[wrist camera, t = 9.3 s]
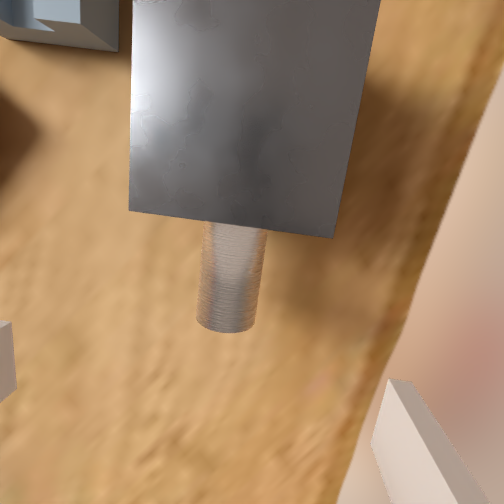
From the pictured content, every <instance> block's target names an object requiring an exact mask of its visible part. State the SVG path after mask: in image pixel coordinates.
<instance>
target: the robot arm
mask: <svg viewBox="0 0 504 504" xmlns="http://www.w3.org/2000/svg"><path fill="white" fill-rule="evenodd" d="M16 389H17V384H16V372H15V359H14V347H13V335H12V323H11V322H9V321H2V320H0V403H1V402H2V401H3V400H4V399H5V398H6V397H8V396H9V395H10V394H11V393H12V392H13V391H15V390H16ZM370 444H371V447H372V450H373V453H374V456H375V459H376V461H377V464H378V467H379V470H380V473H381V475H382V478H383V481H384V484H385V487H386V489H387V492H388V495H389V498H390V501H391V503H392V504H491V503H490V501H489V500H488V498H487V497H486V495H485V493H484V492H483V490H482V489H481V487H480V486H479V484H478V483H477V481H476V480H475V478H474V477H473V475H472V474H471V472H470V471H469V469H468V468H467V466H466V465H465V463H464V461H463V460H462V458H461V457H460V455H459V454H458V452H457V451H456V449H455V448H454V446H453V445H452V443H451V441H450V440H449V438H448V437H447V435H446V434H445V432H444V431H443V429H442V428H441V426H440V425H439V423H438V422H437V420H436V418H435V417H434V415H433V414H432V412H431V411H430V409H429V408H428V407H427V405H426V403H425V402H424V400H423V399H422V397H421V396H420V394H419V393H418V391H417V389H416V388H415V386H414V385H413V383H412V382H409V381H402V380H395V379H388V383H387V386H386V390H385V393H384V397H383V400H382V404H381V408H380V411H379V415H378V418H377V422H376V426H375V429H374V433H373V436H372V440H371V443H370Z"/></svg>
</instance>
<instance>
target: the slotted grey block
mask: <svg viewBox="0 0 504 504" xmlns="http://www.w3.org/2000/svg"><path fill="white" fill-rule="evenodd" d="M380 1H381V0H133V25H132V74H131V123H130V171H129V211H135V212H142V213H150V214H157V215H164V216H171V217H179V218H186V219H193V220H201V221H208V222H215V223H223V224H230V225H237V226H245V227H252V228H259V229H267V230H274V231H281V232H288V233H296V234H303V235H310V236H318V237H325V238H332V239H333V236H334V231H335V226H336V221H337V216H338V211H339V206H340V201H341V196H342V191H343V186H344V181H345V176H346V171H347V166H348V161H349V156H350V151H351V146H352V141H353V136H354V131H355V126H356V121H357V116H358V111H359V106H360V101H361V96H362V91H363V86H364V81H365V76H366V71H367V66H368V61H369V56H370V51H371V46H372V41H373V36H374V31H375V26H376V21H377V16H378V11H379V6H380Z"/></svg>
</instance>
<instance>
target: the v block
mask: <svg viewBox="0 0 504 504" xmlns="http://www.w3.org/2000/svg"><path fill="white" fill-rule="evenodd" d="M0 36H2V37H4V38H6V39H13V40H21V41H29V42H38V43H46V44H54V45H62V46H71V47H79V48H87V49H96V50H104V51H112V52H118V49H119V0H0Z"/></svg>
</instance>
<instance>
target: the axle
mask: <svg viewBox="0 0 504 504" xmlns="http://www.w3.org/2000/svg"><path fill="white" fill-rule="evenodd" d="M267 232H268V230H267V229H259V228H252V227H245V226H237V225H230V224H223V223H215V222H208V221H204V232H203V244H202V255H201V267H200V278H199V290H198V302H197V313H196V318H197V321H198V322H199V323H200V324H201V325H202V326H204V327H205V328H207V329H210V330H213V331H216V332H222V333H238V332H243V331H246V330H248V329H250V328H251V327H252V326H253V325H254V323H255V317H256V310H257V302H258V295H259V288H260V281H261V274H262V267H263V260H264V253H265V246H266V239H267Z"/></svg>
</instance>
